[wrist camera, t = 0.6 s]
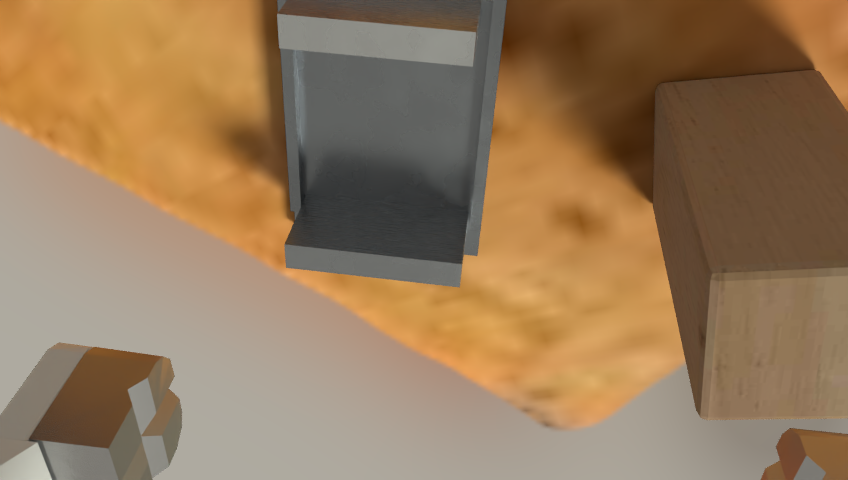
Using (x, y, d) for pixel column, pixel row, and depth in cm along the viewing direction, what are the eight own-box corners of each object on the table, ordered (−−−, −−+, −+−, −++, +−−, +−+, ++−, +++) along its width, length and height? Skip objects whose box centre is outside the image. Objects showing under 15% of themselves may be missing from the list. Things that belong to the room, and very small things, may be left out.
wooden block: (651, 208, 56) (697, 424, 40) (654, 80, 51) (708, 273, 35) (800, 199, 55) (909, 421, 39) (820, 65, 49) (957, 261, 33)
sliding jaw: (303, -22, 48) (277, 13, 43) (482, -6, 47) (476, 32, 42) (304, 10, 49) (279, 48, 44) (479, 26, 48) (473, 66, 43)
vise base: (283, -64, 48) (247, -25, 42) (511, -45, 47) (508, -2, 41) (299, 226, 61) (273, 288, 55) (478, 246, 60) (471, 310, 54)
